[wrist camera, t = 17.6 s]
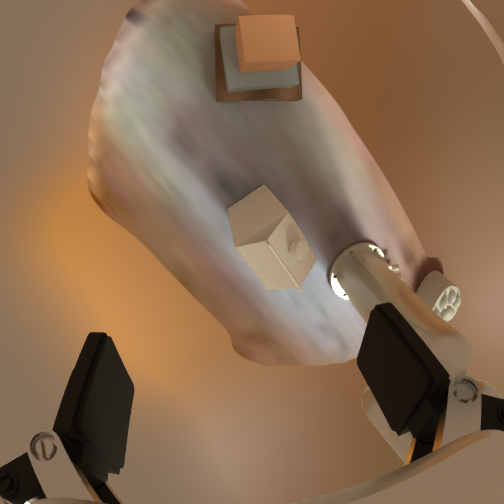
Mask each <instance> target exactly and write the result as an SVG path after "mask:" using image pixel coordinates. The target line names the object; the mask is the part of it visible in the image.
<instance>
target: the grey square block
mask: <svg viewBox="0 0 504 504" xmlns="http://www.w3.org/2000/svg"><path fill="white" fill-rule="evenodd" d="M235 28H236V26H231V27H221V29H220V43H221V50H222V58H223V65H224V73H225V80H226V88H227V93H230V92H238V91H248V90H259V89H272V88H291V87H293V86H296V85H298V84H299V78H298V71H297V64H295V65H293V66H292V67H290V68H289V69H287V70H274V71H256V72H244V73H240V72H239V65H238V57H237V50H236V42H235V35H234V31H235Z"/></svg>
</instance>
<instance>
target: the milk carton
mask: <svg viewBox="0 0 504 504" xmlns="http://www.w3.org/2000/svg"><path fill="white" fill-rule="evenodd" d="M228 213H229V218H230V223H231V229H232V234H233V239H234V244H235V248H236V250H237V251H238V252H239V253H240V255H241V256H242V257H243V259H244V260H245V261H246V262H247V264H248V265H249V266H250V267H251V269H252V270H253V271H254V273H255V274H256V275H257V276H258V278H259V279H260V280H261V281H262V283H263V284H264V285H265V286H266V288H267V289H268V290H274V289H290V288H298V289H299V291H300V292H301V293H302V292H303V291H302V290H301V288H300V287H301V285H302V283H303V282H304V280H305V278H306V277H307V275H308V273H309V272H310V270H311V268H312V266H313V265H314V263H315V261H316V259H317V258H316V256H315V254H314V252H313V250H312V249H311V247H310V245H309V244H308V242H307V240H306V239H305V237H304V235H303V234H302V232H301V231H300V229H299V227H298V226H297V224H296V222H295V221H294V219H293V218H292V216H291V215H290V213H289V212H288V211H287V210H286V208H285V207H284V206H283V205H282V204H281V203H280V201H279V200H278V199H277V198H276V197H275V196H274V194H273V193H272V192H271V191H270V190H269V189H268V188H267V186H266V185H265V184H264V185H262V186H261V187H259V188H257V189H256V190H254V191H253V192H252V193H250V194H249V195H247V196H246V197H244V198H243V199H241V200H240V201H238V202H237V203H235V204H234V205H232V206H231V207H229V208H228Z"/></svg>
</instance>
